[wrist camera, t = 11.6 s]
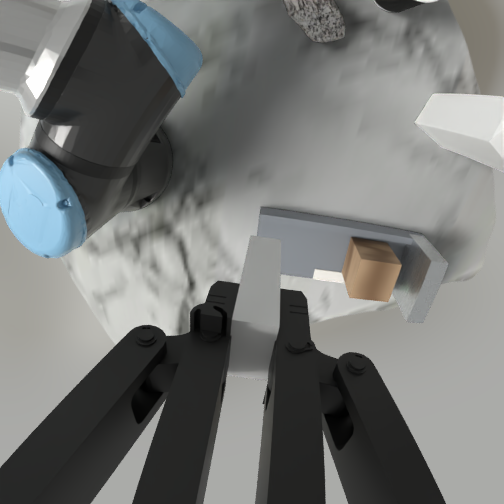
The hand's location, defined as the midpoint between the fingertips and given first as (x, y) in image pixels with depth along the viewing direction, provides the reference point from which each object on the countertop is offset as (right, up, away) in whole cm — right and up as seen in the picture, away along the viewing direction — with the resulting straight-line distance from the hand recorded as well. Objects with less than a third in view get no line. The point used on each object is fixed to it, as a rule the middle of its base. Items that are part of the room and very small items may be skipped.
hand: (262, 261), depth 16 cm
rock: (+6, +34, +16) cm, 38 cm away
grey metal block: (+24, -1, +30) cm, 39 cm away
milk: (+27, +20, +21) cm, 39 cm away
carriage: (+17, -1, +30) cm, 35 cm away
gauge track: (+13, +1, +31) cm, 34 cm away
